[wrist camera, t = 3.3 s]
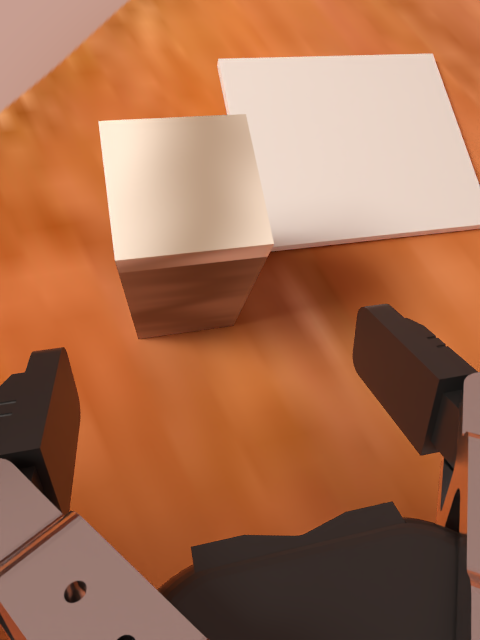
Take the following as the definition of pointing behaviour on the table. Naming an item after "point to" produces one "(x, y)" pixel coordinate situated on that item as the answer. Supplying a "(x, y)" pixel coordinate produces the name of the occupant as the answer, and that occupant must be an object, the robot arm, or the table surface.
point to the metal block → (185, 219)
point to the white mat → (353, 147)
